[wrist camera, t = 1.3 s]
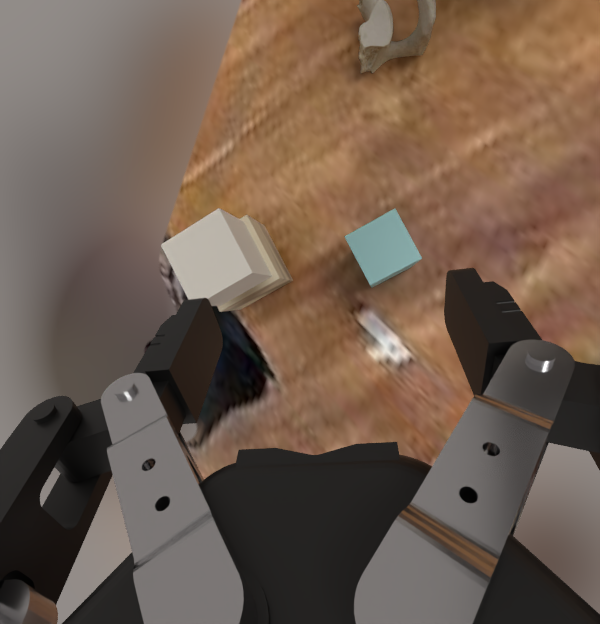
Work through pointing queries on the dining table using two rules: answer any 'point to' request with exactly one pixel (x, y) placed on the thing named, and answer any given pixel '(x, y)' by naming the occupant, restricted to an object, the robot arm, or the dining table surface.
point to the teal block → (383, 248)
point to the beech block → (272, 261)
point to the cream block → (216, 258)
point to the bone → (391, 33)
